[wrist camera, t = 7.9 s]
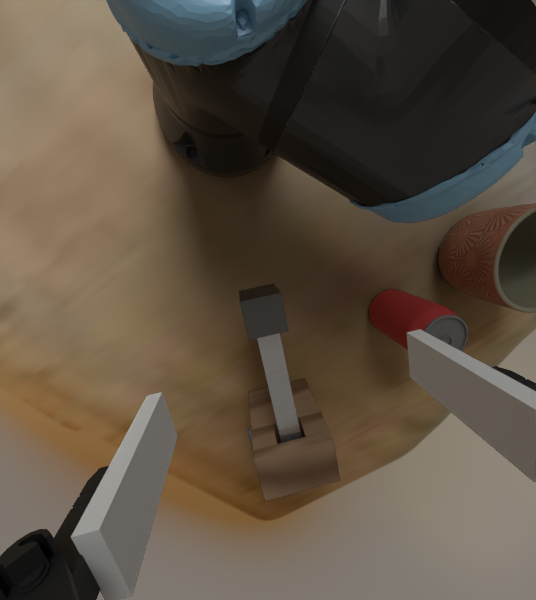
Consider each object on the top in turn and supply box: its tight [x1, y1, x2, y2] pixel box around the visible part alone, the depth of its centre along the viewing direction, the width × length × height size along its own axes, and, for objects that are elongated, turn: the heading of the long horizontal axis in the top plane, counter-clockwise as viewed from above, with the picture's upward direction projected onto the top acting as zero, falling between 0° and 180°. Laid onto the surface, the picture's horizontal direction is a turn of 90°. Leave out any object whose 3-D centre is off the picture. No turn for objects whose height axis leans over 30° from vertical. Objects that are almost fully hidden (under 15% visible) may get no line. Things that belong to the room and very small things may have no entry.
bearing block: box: [248, 378, 340, 501], centre depth 37 cm, size 6×9×13 cm, turn 102°
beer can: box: [369, 289, 469, 351], centre depth 36 cm, size 7×7×12 cm
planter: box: [438, 203, 536, 313], centre depth 36 cm, size 12×12×11 cm
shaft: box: [239, 283, 301, 443], centre depth 31 cm, size 23×4×5 cm, turn 12°
